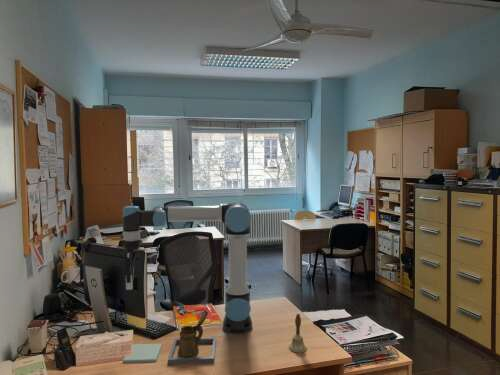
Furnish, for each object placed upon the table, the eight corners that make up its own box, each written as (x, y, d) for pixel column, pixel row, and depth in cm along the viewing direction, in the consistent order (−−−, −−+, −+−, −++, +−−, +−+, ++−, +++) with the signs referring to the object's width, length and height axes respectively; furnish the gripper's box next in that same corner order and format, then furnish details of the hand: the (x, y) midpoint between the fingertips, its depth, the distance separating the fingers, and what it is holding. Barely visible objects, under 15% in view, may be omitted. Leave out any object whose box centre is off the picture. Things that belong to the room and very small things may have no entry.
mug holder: (216, 341, 184) (215, 337, 184) (214, 362, 165) (213, 358, 164) (174, 342, 183) (174, 338, 183) (167, 364, 164) (167, 359, 164)
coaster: (162, 345, 180) (162, 343, 180) (156, 361, 166) (156, 359, 166) (131, 346, 180) (131, 344, 179) (123, 362, 166) (122, 360, 166)
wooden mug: (209, 355, 171) (208, 315, 170) (178, 359, 168) (177, 318, 167) (207, 346, 180) (206, 308, 178) (177, 349, 177) (176, 310, 175)
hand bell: (308, 345, 179) (308, 311, 178) (304, 354, 172) (305, 318, 170) (290, 343, 182) (290, 309, 181) (286, 351, 174) (286, 316, 173)
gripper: (130, 234, 193) (132, 276, 194) (115, 245, 168) (117, 293, 169) (146, 234, 193) (147, 276, 195) (133, 245, 168) (134, 293, 170)
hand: (133, 284), depth 182 cm, fingers open, 13 cm apart
